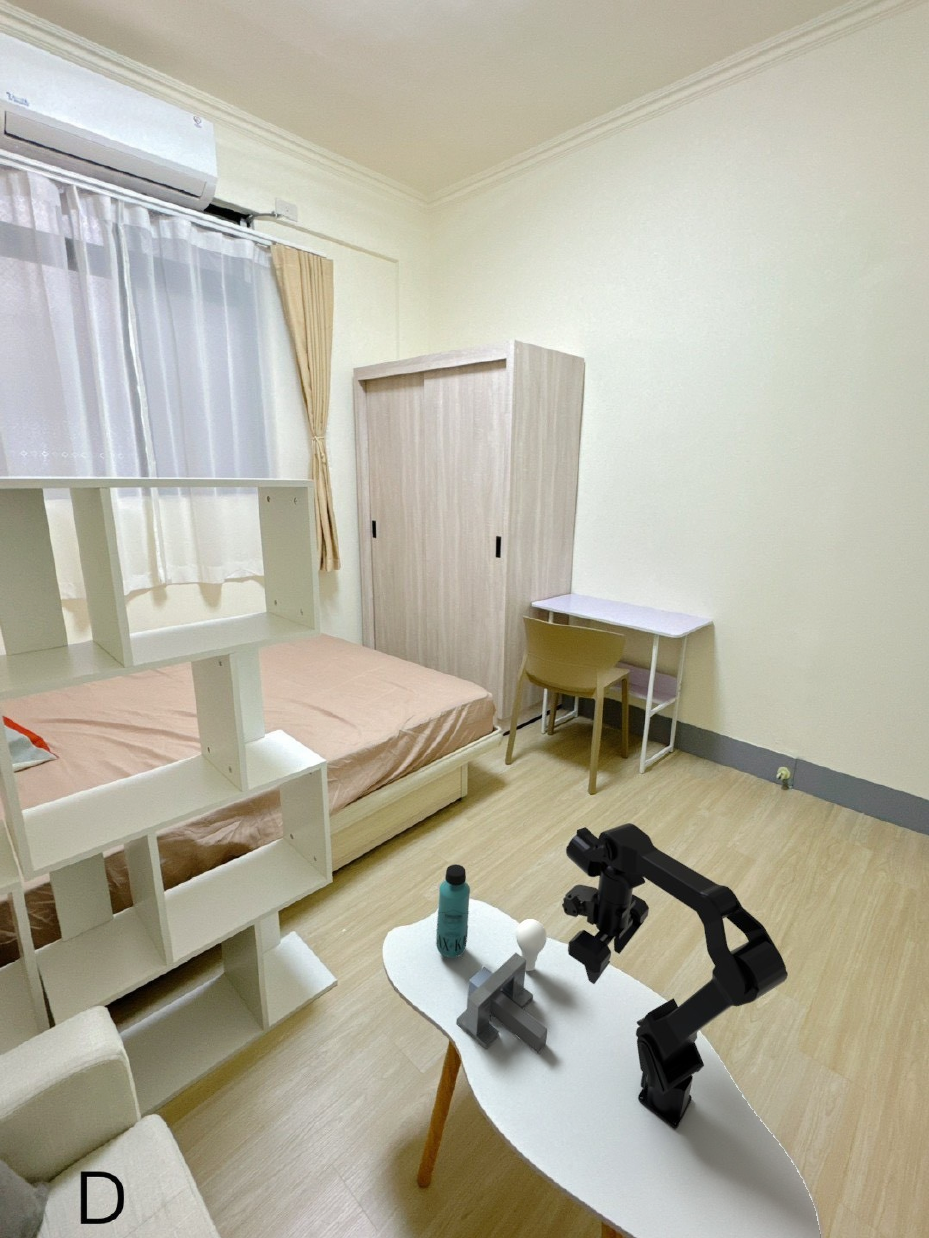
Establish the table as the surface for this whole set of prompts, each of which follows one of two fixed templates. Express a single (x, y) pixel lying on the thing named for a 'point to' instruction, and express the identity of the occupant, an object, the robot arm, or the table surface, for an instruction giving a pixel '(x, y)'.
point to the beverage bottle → (453, 912)
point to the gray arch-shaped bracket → (479, 1001)
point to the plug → (512, 1015)
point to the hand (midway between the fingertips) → (604, 966)
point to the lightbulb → (531, 941)
